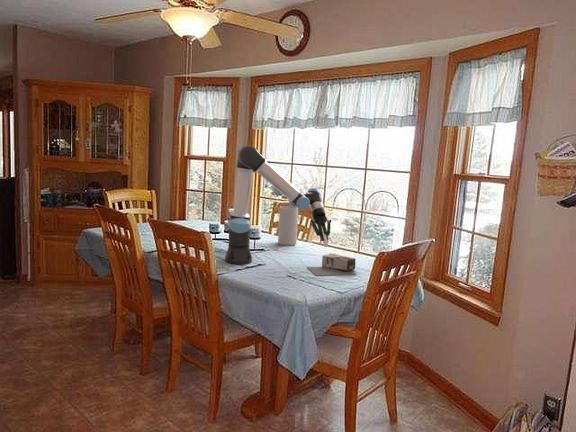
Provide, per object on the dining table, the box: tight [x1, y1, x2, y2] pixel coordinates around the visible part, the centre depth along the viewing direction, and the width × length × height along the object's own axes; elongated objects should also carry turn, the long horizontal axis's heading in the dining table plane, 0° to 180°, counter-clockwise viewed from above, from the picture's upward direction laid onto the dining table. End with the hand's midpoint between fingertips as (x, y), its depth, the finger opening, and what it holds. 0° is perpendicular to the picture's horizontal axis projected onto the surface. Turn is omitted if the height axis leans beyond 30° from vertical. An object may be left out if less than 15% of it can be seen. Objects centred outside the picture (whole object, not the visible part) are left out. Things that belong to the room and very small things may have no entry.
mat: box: [306, 266, 356, 277], centre depth 239 cm, size 22×16×1 cm
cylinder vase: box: [277, 205, 299, 247], centre depth 299 cm, size 12×12×25 cm
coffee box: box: [321, 253, 356, 272], centre depth 244 cm, size 9×6×16 cm
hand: (326, 245), depth 245 cm, fingers closed
